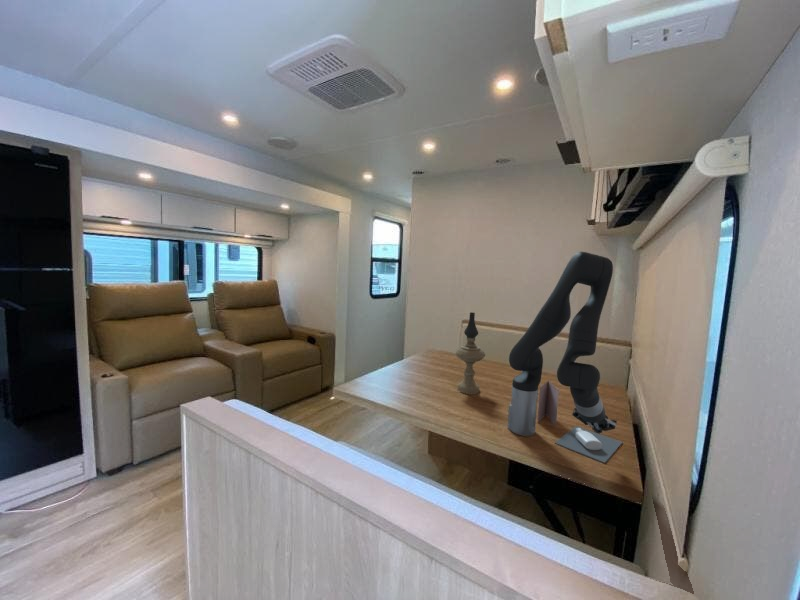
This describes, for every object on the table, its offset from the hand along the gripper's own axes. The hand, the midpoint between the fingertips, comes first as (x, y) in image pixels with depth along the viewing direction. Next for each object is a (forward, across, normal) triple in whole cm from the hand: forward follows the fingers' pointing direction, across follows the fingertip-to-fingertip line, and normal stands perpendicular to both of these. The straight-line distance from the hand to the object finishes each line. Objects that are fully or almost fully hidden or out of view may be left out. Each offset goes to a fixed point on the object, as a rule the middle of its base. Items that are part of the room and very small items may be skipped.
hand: (598, 430), depth 111 cm
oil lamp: (+19, +64, -6) cm, 67 cm away
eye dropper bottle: (+7, +1, +3) cm, 7 cm away
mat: (+12, +4, +1) cm, 13 cm away
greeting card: (+17, +22, -4) cm, 28 cm away
